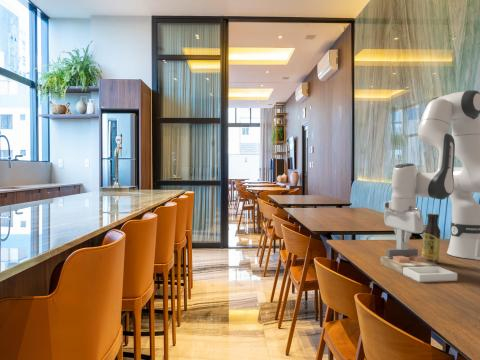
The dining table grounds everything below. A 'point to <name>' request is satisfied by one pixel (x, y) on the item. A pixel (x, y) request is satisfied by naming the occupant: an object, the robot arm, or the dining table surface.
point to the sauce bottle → (431, 239)
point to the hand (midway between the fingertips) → (402, 241)
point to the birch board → (403, 264)
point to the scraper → (401, 247)
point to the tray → (429, 274)
